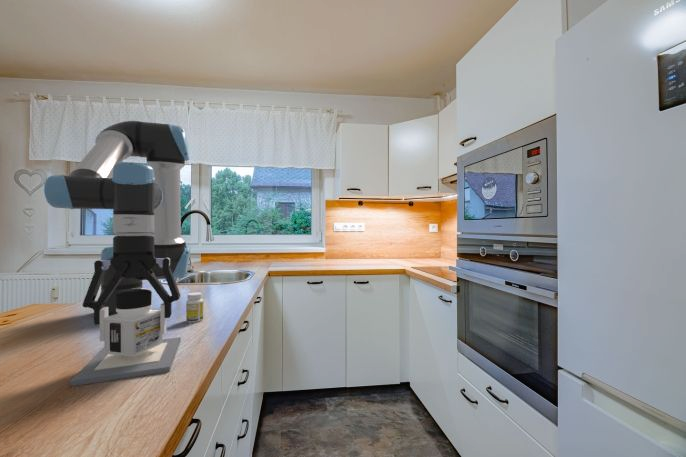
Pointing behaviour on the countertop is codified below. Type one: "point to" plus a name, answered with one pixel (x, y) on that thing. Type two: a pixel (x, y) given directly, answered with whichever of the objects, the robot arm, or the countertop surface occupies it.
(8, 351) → the countertop surface
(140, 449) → the countertop surface
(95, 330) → the countertop surface
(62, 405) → the countertop surface
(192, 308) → the supplement bottle
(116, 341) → the container
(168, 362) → the board
